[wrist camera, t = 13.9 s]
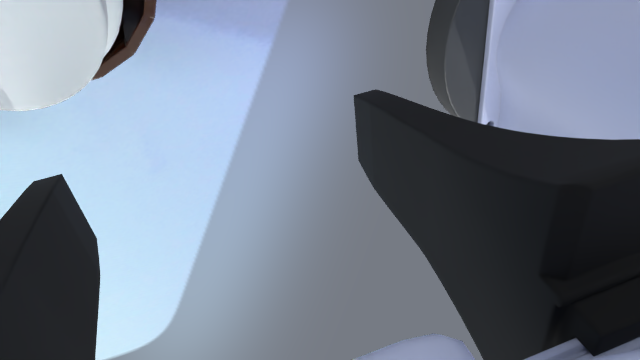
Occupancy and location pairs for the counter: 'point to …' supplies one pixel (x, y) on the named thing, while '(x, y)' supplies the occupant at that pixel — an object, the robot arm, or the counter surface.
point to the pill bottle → (52, 48)
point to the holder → (128, 34)
